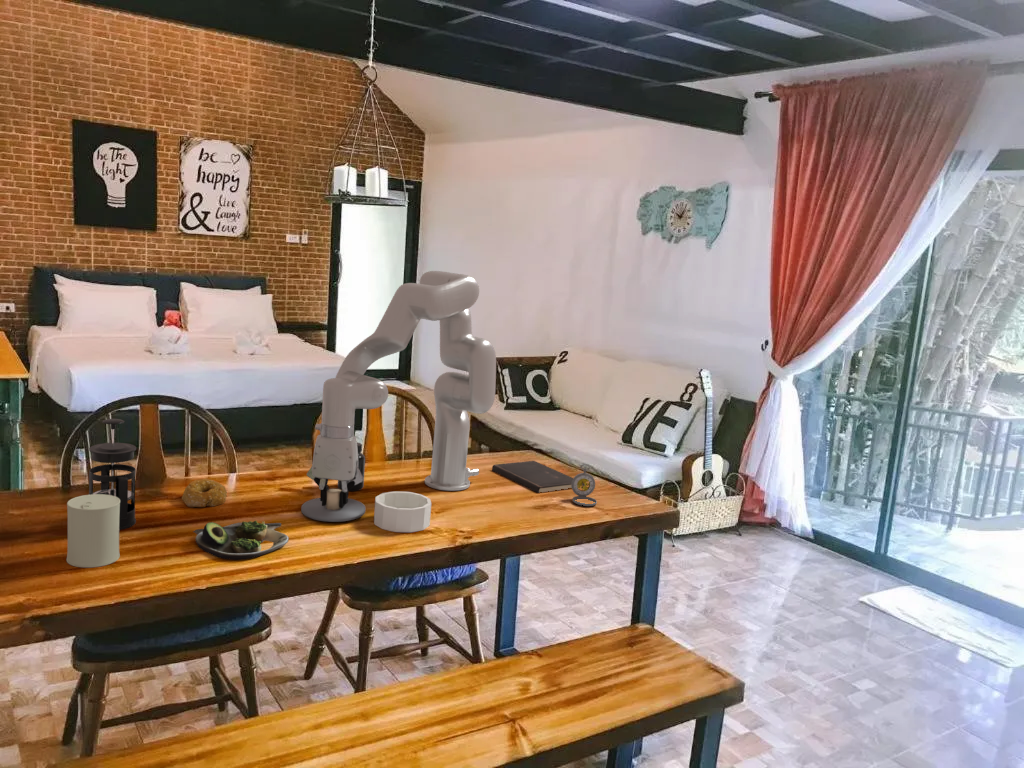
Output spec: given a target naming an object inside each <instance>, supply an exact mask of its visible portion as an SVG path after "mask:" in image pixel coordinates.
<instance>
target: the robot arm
mask: <svg viewBox="0 0 1024 768" xmlns="http://www.w3.org/2000/svg"><path fill="white" fill-rule="evenodd" d="M479 295H480V286H479V283H478V282H477V280H476V279H475V277H472V276H471V275H468V274H463V273H455V272H449V271H442V270H429V271H426V272H424V273H423V274H422V275H421V276H420V279H419V283H418V282H417V283H416V282H415V283H414V282H407V283H403V284H401V285H399V286H398V288H396V291H395V292H394V294H393V296H392V298H391V300H390V302H389V304H388V306H387V308H386V310H385V312H384V314H383V315H382V318H381V319H380V321H379V323H378V325H377V327H376V329H375V330H374V332H373V333H372V334H371V335H369V336H368V337H366V338H364V339H363V340H362V341H361V342H359V344H357V345H356V346H355V347H354V348H353V349H352V350H350V352H349V353H348V354H347V355H346V356H345V358H344V360H343V361H342V364H341V365H340V367H339V369H338V371H337V373H336V375H335V377H332V378H328V379H326V380H325V381H324V383H323V388H322V406H321V423H316V424H315V426H314V429H315V430H318V431H319V432H320V433H319V434H318V435H316V440H315V444H314V449H313V455H312V456H313V457H312V466H311V467H310V468H309V470H308V471H307V472H306V476H307V477H308V478H310V479H311V480H312V481H313V482H314V483H315V484H316V485H317V486H318V488H319V490H320V496H319V498H320V501H322V506H325V505H326V497H327V490H329V489H330V487H329V485H328V482H329V480H332V481H338V480H340V481H341V482H342V491H341V492H340V502H339V507H340V508H343V507H344V506H345V504H347V502H348V498H349V491H348V490H349V489H350V488H352V487H353V486H354V485H356V484H358V483H360V482H362V481H363V480H364V481H365V477H364V478H363V476H362V474H361V472H360V470H359V468H358V448H357V443H358V442H357V441H358V440H357V436H355V434H354V433H355V432H354V431H355V414H356V413H355V411H356V410H360V409H362V410H375V409H378V408H380V407H381V406H383V405H384V404H385V403H386V401H387V400H388V397H389V390H388V386H387V385H386V383H385V382H384V381H382V380H380V379H378V378H377V377H372V376H368V375H366V374H365V373H366V371H367V370H368V368H369V367H370V366H371V365H373V363H375V362H376V361H378V360H380V359H382V358H384V357H387V356H390V355H394V354H396V353H399V352H402V351H404V350H405V349H406V348H407V346H408V344H409V343H410V341H411V339H412V336H413V334H414V332H415V330H416V328H417V327H418V324H419V323H420V320H426V321H432V322H434V321H437V322H438V321H439V357H440V361H441V363H442V364H443V365H444V366H446V367H447V368H450V369H453V370H454V369H455V370H457V371H446V372H444V373H442V374H441V375H439V376H438V377H437V378H436V381H435V382H434V386H433V387H434V388H433V392H434V393H433V395H434V403H435V404H434V405H435V423H434V425H435V426H434V433H433V434H434V435H433V446H432V457H431V471H430V475H427V476H426V477H425V478H424V484H425V485H426V486H427V487H430V488H432V489H434V490H435V489H436V490H440V491H449V492H451V491H452V492H454V491H463V490H466V489H468V488H469V487H471V481H470V480H469V478H471V477H475V476H479V475H480V470H479V469H478V468H472V469H470V468H469V467H467V462H468V461H467V459H468V458H467V457H468V449H469V437H470V423H471V422H470V418H469V414H468V412H469V413H473V414H485V413H487V412H489V411H490V410H491V408H492V407H493V405H494V403H495V397H496V382H497V381H496V379H497V354H496V350H495V347H494V346H493V344H492V343H491V342H490V341H489V340H488V339H485V338H482V337H477V336H474V335H473V331H472V329H473V327H472V314H471V311H470V308H471V307H472V306H474V305H475V304H476V302H477V300H478V299H479ZM458 370H459V371H462V372H466V373H468V374H465V373H462V372H458ZM354 477H356V478H355V479H353V478H354ZM352 479H353V480H352ZM350 480H352V481H350Z"/></svg>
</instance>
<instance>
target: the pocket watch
mask: <svg viewBox="0 0 1024 768" xmlns="http://www.w3.org/2000/svg"><path fill="white" fill-rule="evenodd" d="M583 466H584V468H582V467H583ZM585 466H587V467H585ZM590 467H591V466H590V465H589V464H586V463H585V464H581V465H580V469H581V470H582V471H583V472H580V473H577V474H576V475H575V476H573V477H572V478H573V480H572V484H571V487H572V489H571V490H572V491H573V493H574V494H575V495H576V496H574V497H572V502H573V503H574V504H575V505H579V506H582V505H583V506H584V507H593V506H596V505H597V503H598V501H597V500H596V498H593V497H590V496H589V495H591V494H592V493H593V492H594V491H595V488H596V481H595V478H594V477H593V476H592V475H591V474H589V473H587V471H588V470H590ZM577 485H578V486H579V487H578V486H577ZM577 499H588V500H590V501H593V502H595V503H593V504H585V503H580V502H577V501H575V500H577Z"/></svg>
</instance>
